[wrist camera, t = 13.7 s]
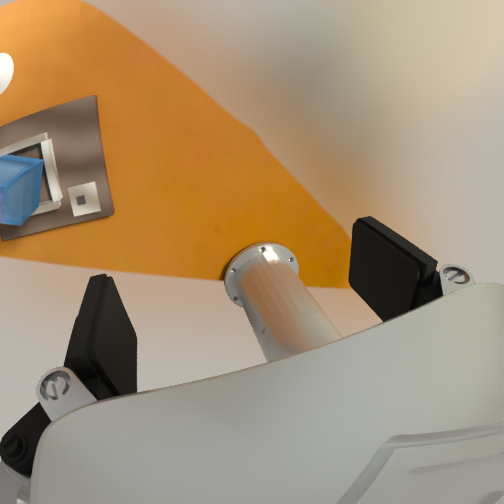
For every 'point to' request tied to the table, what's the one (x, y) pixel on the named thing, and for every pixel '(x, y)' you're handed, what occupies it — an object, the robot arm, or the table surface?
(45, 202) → the board
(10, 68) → the champagne flute
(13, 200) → the perfume bottle
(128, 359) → the robot arm
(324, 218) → the table surface
